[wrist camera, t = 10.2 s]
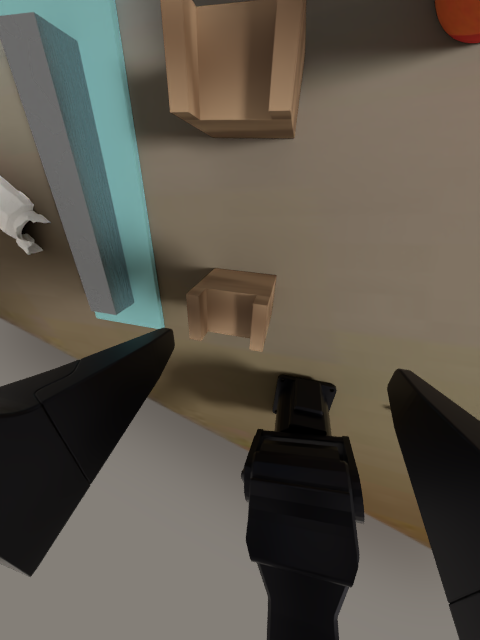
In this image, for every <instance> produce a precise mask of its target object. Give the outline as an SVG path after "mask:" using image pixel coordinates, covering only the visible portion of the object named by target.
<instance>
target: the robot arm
mask: <svg viewBox="0 0 480 640" xmlns="http://www.w3.org/2000/svg"><path fill="white" fill-rule="evenodd" d="M174 347H175V343H174V335H173V330H172V329H169V328H161V329H158V330H155V331H153V332H150V333H147V334H145V335H142V336H140V337H137V338H134V339H132V340H129V341H127V342H124V343H121V344H119V345H116V346H113V347H111V348H108V349H106V350H103V351H100V352H98V353H95V354H92V355H90V356H87V357H85V358H82V359H81V360H77V361H74V362H72V363H69V364H66V365H63V366H61V367H58V368H55V369H52V370H50V371H47V372H44V373H41V374H38V375H35V376H32V377H29V378H26V379H23V380H19V381H17V382H13V383H10V384H7V385H4V386H1V387H0V564H2V565H4V566H6V567H8V568H11V569H13V570H15V571H18V572H20V573H22V574H24V575H27V576H29V577H31V576H32V574H33V573H34V572H35V570H36V569H37V567H38V566H39V565H40V563H41V561H42V560H43V558H44V557H45V555H46V553H47V552H48V550H49V549H50V547H51V546H52V544H53V543H54V541H55V539H56V538H57V536H58V535H59V533H60V532H61V530H62V529H63V527H64V526H65V524H66V523H67V521H68V519H69V518H70V516H71V515H72V513H73V512H74V510H75V508H76V507H77V505H78V504H79V502H80V501H81V499H82V498H83V496H84V495H85V493H86V492H87V490H88V488H89V487H90V484H91V483H92V482H93V480H94V479H95V477H96V475H97V474H98V473H99V471H100V470H101V468H102V466H103V465H104V463H105V462H106V460H107V459H108V457H109V456H110V454H111V452H112V451H113V449H114V448H115V446H116V445H117V443H118V441H119V440H120V438H121V437H122V435H123V434H124V432H125V431H126V429H127V428H128V426H129V424H130V423H131V421H132V420H133V418H134V417H135V415H136V414H137V412H138V411H139V409H140V407H141V406H142V404H143V402H144V401H145V400H146V398H147V397H148V395H149V393H150V392H151V390H152V389H153V387H154V386H155V384H156V383H157V381H158V379H159V378H160V376H161V374H162V372H163V370H164V368H165V366H166V364H167V362H168V360H169V358H170V356H171V354H172V352H173V350H174ZM282 379H284V380H282ZM387 391H388V396H389V402H390V407H391V413H392V418H393V423H394V428H395V432H396V435H397V439H398V442H399V445H400V448H401V451H402V455H403V458H404V461H405V464H406V468H407V471H408V474H409V477H410V481H411V484H412V487H413V490H414V493H415V497H416V500H417V503H418V506H419V510H420V513H421V516H422V519H423V523H424V526H425V529H426V532H427V535H428V539H429V542H430V545H431V548H432V551H433V555H434V558H435V561H436V565H437V568H438V571H439V574H440V577H441V581H442V584H443V587H444V590H445V594H446V597H447V600H448V602H449V603H450V604H449V607H450V611H451V614H452V617H453V620H454V624H455V627H456V630H457V633H458V636H459V640H480V421H479V420H478V419H476V418H475V417H473V416H472V415H471V414H469V413H468V412H467V411H465V410H464V409H462V408H461V407H460V406H458V405H457V404H456V403H454V402H453V401H451V400H450V399H449V398H447V397H446V396H445V395H443V394H442V393H441V392H439V391H438V390H436V389H435V388H434V387H432V386H431V385H430V384H428V383H427V382H425V381H424V380H423V379H421V378H420V377H419V376H417V375H416V374H414V373H413V372H412V371H410V370H404V369H397V370H395V372H394V374H393V376H392V378H391V380H390V381H389V383H388V387H387ZM335 394H336V386H334V385H332V384H327V383H321V382H316V381H311V380H306V379H301V378H296V377H291V376H286V375H280V376H279V377H278V382H277V388H276V393H275V399H274V405H273V413H275V414H276V423H275V431H265V430H263V429H258V430H257V432H256V435H255V436H254V439H253V442H252V445H251V447H250V450H249V453H248V456H247V459H246V462H245V465H244V469H243V470H242V473H241V479H242V480H243V482H244V493H245V499H246V501H247V502H249V513H248V525H247V533H246V543H247V547H248V551H249V556H250V559H251V561H253V562H257V564H258V567H259V570H260V573H261V576H262V579H263V582H264V586H265V589H266V591H267V595H268V622H267V623H268V624H267V640H339V633H338V621H337V618H338V615H339V612H340V609H341V607H342V604H343V601H344V599H345V596H346V593H347V591H348V589H349V587H352V585H353V583H354V580H355V576H356V573H357V570H358V562H359V547H358V539H357V530H356V522H357V523H364V505H363V497H362V490H361V484H360V479H359V474H358V470H357V466H356V462H355V459H354V455H353V451H352V447H351V444H350V440H349V437H348V436H342V437H335V436H331V428H330V419H329V410H330V407H331V405H332V402H333V399H334V397H335Z"/></svg>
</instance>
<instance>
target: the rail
mask: <svg viewBox="0 0 480 640" xmlns="http://www.w3.org/2000/svg"><path fill="white" fill-rule="evenodd" d="M0 39H1V42H2V45H3V48H4V51H5V54H6V57H7V60H8V63H9V66H10V69H11V72H12V75H13V78H14V81H15V84H16V87H17V90H18V93H19V96H20V99H21V102H22V105H23V108H24V111H25V114H26V117H27V120H28V123H29V126H30V129H31V132H32V135H33V138H34V141H35V144H36V147H37V150H38V153H39V156H40V159H41V162H42V165H43V168H44V171H45V174H46V177H47V180H48V183H49V186H50V189H51V192H52V195H53V198H54V201H55V204H56V206H57V209H58V212H59V215H60V218H61V221H62V224H63V227H64V230H65V233H66V236H67V239H68V242H69V245H70V248H71V251H72V254H73V257H74V260H75V263H76V266H77V269H78V272H79V275H80V278H81V281H82V284H83V287H84V290H85V293H86V296H87V299H88V302H89V305H90V308H91V311H95V312H101V313H107V314H112V315H117V314H119V313H120V312H122V311H123V310H125V309H126V308H128V307H129V306H131V305H132V304H134V303H135V302H134V298H133V293H132V289H131V284H130V280H129V275H128V270H127V266H126V261H125V257H124V252H123V247H122V243H121V238H120V234H119V229H118V225H117V220H116V215H115V211H114V206H113V202H112V197H111V192H110V188H109V183H108V179H107V174H106V170H105V165H104V160H103V156H102V151H101V147H100V142H99V137H98V133H97V128H96V124H95V119H94V115H93V110H92V105H91V101H90V96H89V92H88V87H87V82H86V78H85V73H84V69H83V64H82V60H81V55H80V50H79V46H78V41H76V40H75V39H73V38H72V37H70V36H69V35H67V34H66V33H64V32H63V31H61V30H60V29H58V28H57V27H55V26H54V25H52V24H51V23H49V22H48V21H46V20H45V19H43V18H42V17H40V16H39V15H37V14H36V13H34V12H29V13H20V14H12V15H3V16H0Z"/></svg>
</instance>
